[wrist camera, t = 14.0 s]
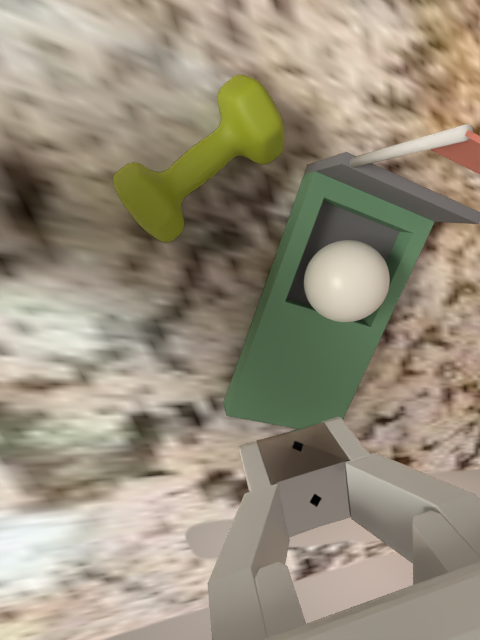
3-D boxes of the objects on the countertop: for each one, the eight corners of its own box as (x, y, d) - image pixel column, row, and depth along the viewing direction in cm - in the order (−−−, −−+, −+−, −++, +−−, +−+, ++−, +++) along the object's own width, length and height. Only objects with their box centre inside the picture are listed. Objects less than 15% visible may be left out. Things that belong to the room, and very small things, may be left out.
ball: (367, 230, 30) (351, 216, 38) (287, 287, 33) (288, 264, 41) (418, 304, 32) (392, 276, 40) (338, 351, 35) (329, 317, 44)
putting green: (326, 422, 49) (427, 565, 29) (223, 402, 45) (260, 554, 25) (420, 212, 41) (642, 216, 22) (307, 164, 37) (456, 114, 17)
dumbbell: (238, 81, 33) (253, 49, 27) (280, 153, 36) (304, 141, 30) (111, 182, 34) (95, 176, 27) (162, 245, 37) (159, 254, 30)
